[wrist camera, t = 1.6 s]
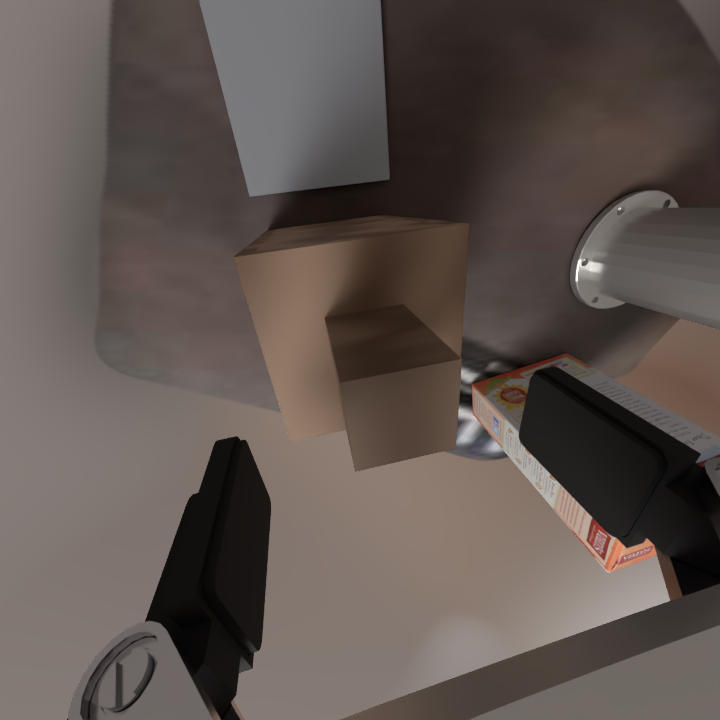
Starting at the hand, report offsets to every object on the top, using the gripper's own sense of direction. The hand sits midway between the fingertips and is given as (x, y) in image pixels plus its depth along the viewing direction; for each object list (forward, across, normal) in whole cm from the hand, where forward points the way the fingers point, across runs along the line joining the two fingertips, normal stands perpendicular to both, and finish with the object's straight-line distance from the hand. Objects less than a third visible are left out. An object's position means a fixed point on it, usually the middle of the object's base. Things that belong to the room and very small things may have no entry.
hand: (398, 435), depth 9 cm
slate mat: (+22, -1, -14) cm, 27 cm away
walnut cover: (+22, -1, 0) cm, 23 cm away
